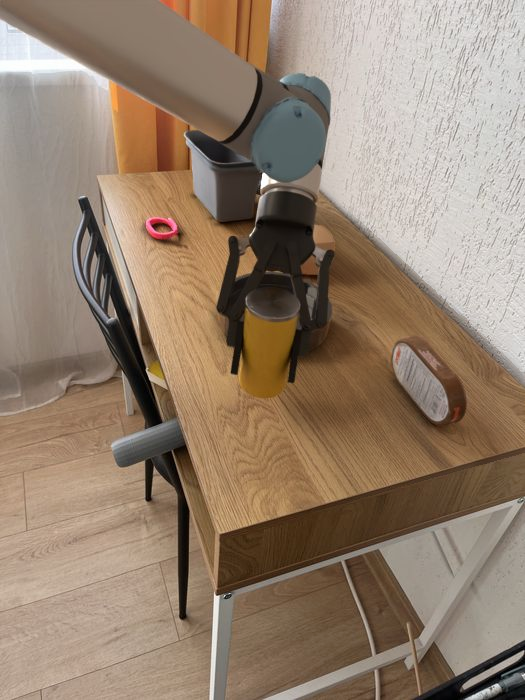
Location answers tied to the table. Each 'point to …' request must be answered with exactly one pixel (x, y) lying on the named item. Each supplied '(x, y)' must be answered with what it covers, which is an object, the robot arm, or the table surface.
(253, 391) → the corn can
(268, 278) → the pan
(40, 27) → the robot arm
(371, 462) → the table surface
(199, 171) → the storage bin
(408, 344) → the tin
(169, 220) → the fitness band
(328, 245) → the squash
